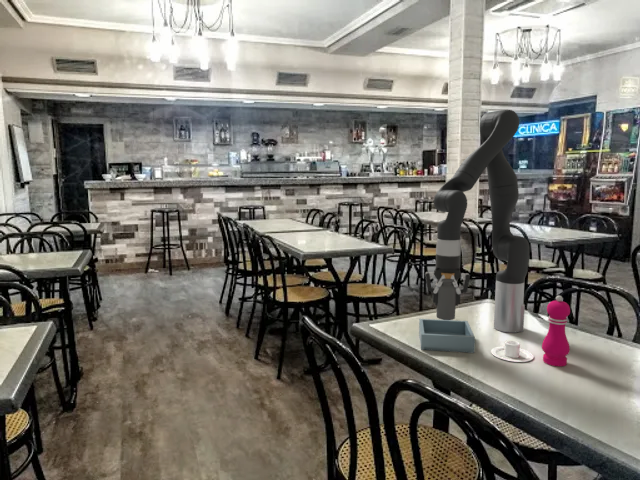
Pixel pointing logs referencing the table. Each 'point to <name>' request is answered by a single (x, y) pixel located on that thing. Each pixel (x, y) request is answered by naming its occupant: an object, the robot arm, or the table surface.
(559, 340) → the pepper mill
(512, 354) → the candle holder
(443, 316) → the bottle
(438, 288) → the robot arm
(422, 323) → the tote
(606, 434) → the table surface
